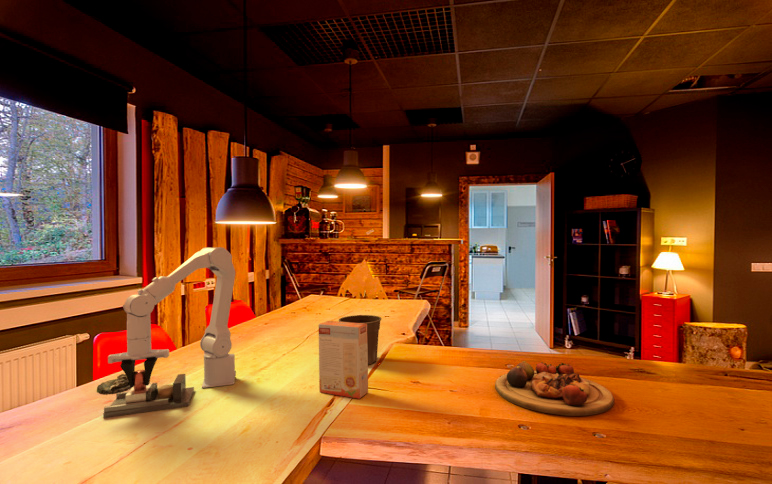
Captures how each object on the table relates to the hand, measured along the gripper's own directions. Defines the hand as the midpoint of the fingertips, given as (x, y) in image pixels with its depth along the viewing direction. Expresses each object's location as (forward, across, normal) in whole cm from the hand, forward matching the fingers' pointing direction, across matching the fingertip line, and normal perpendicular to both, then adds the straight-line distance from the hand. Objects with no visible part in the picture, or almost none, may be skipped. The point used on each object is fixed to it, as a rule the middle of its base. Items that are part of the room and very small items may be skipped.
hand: (139, 385), depth 110 cm
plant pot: (+6, +69, +16) cm, 71 cm away
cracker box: (+6, +56, -12) cm, 58 cm away
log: (+6, -10, +19) cm, 22 cm away
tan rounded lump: (+4, +6, 0) cm, 8 cm away
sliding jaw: (+4, 0, 0) cm, 4 cm away
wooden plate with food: (+6, +113, -35) cm, 118 cm away
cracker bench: (+6, +3, 0) cm, 6 cm away
